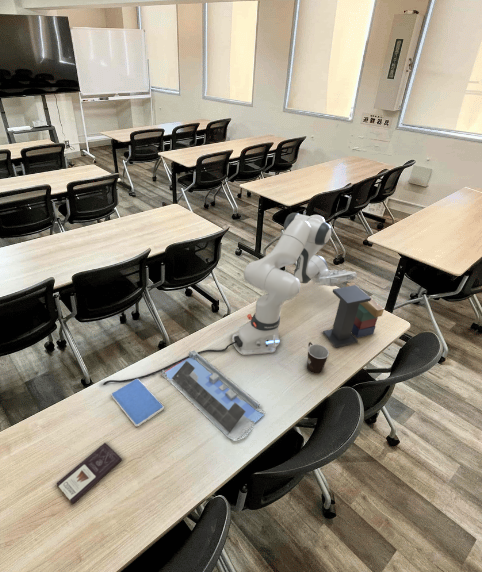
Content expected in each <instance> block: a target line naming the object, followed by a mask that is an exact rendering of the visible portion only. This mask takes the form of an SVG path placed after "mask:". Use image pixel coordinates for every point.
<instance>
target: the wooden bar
mask: <svg viewBox="0 0 482 572" xmlns="http://www.w3.org/2000/svg"><path fill="white" fill-rule="evenodd" d="M353 285H356V286H357V287H359V286H358V284H356V283H354V282H347V283H346V285H345V287H348V286H353ZM361 290H362V291H363V292H364V293H366V292H365V291H364V290H363V289H361ZM368 296H369V297H370V298H371V300H370V301H368V302H364V303H360V304H361V305H362V306H363V307H364V308H365V309H367V310H368V311H369V312H370V313H371V314H372V315H373V316H374V317H378V318H380V317H383V313H384V311H385V308H383V306H381V305H380V304H379V303H378V302H377V301H376V300H374V299H373V298H372V297H371V296H370V295H368Z"/></svg>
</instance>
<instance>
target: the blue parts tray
mask: <svg viewBox="0 0 482 572" xmlns="http://www.w3.org/2000/svg"><path fill="white" fill-rule="evenodd" d="M197 352H198V351H196V350H189V352H188V356H189V358H187V359H185V360H183V361H181V362H179V363H176V364H174V365H172V366H171V367H169V368H167V370H165V369H164V370H162V371H160V373H161V376H162V378H164V379H166V380H167V381H168V382H169V384H171V385H172V386H173V387H174V388H175V389H176V390H177V391H178V392H179V393H180V394H182V396H183V397H184V398H186V400H188V401H189V402H190V403H191V404H192V405H193V406H194V407H195V408H196V409H197V410H198V411H199V412H200V413H201V414H202V415H203V416H204V417H206V418H207V420H209V422H211V424H213V425H214V426H215V427H216V428H217V429H218V430H219V431H220V432H221V433H223V435H224V436H226V437H227V438H228V439H230V440H232V441H233V442H237V441H240V440H243V439H245V438H247V437H248V436H249V435H250V434H251V433H252V431H253V429H254V427H255V424H256V422H258V421H259V420H260V419H261V418H262V417H264V415H266V414H267V412H266V411H265V410H263V409H261V408H260V405H261V403H260V402H258V400H256V399H255V398H254V397H252V396H251V394H249V393H248V392H246V391H245V390H244V389H243V388H241V387H240V386H239V385H237V383H235V382H234V381H233V380H231V379H230V378H229V377H228V376H227V375H226V374H224V373H223V372H222V371H221V370H219V369H218V368H217V367H216V366H214V365H213V364H212V363H210V361H208V360H206V358H204V357H203V356H202V355H201V354H198V353H197Z"/></svg>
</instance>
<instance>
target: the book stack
mask: <svg viewBox="0 0 482 572" xmlns="http://www.w3.org/2000/svg"><path fill="white" fill-rule="evenodd" d="M378 318H379V317H374V316H373V315H372V314H371V313H370V312H369V311H368V310H367V309H365V308H364V307H363V306H362V305H361V304H359V307H358V311H357V314H356V318H355V321H354V325H353V328H352V332H351V334H352V335H353V336H354V337H355V338H356V339H359V338H363V337H368V336H372V335H374V333H375V330H376V327H377V326H376V324H377V322H378Z"/></svg>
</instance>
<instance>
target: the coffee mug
mask: <svg viewBox="0 0 482 572" xmlns="http://www.w3.org/2000/svg"><path fill="white" fill-rule="evenodd" d="M329 356H330V351H329V349H328V348H327V346H325V345H322V344H319V343H314V344H313V343H312V342H308V348H307V362H306V364H307V365H306V369H307V370H308V371H309V372H310V373H311V374H315V375H318V374H321V373H322V371H323V369H324V368H325V365H326V363H327V361H328V358H329Z"/></svg>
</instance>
